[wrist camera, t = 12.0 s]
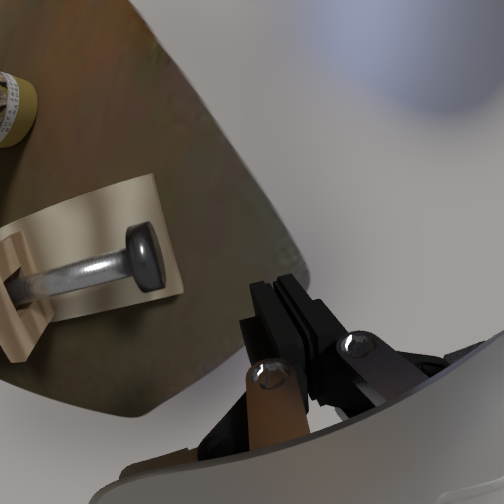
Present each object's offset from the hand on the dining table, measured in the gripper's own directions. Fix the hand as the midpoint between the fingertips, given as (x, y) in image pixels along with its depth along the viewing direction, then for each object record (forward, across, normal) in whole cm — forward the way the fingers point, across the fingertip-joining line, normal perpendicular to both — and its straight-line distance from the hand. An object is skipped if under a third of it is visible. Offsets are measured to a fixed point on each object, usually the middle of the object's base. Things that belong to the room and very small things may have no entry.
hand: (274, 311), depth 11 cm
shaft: (+13, +14, 0) cm, 19 cm away
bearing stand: (+16, +20, 0) cm, 25 cm away
